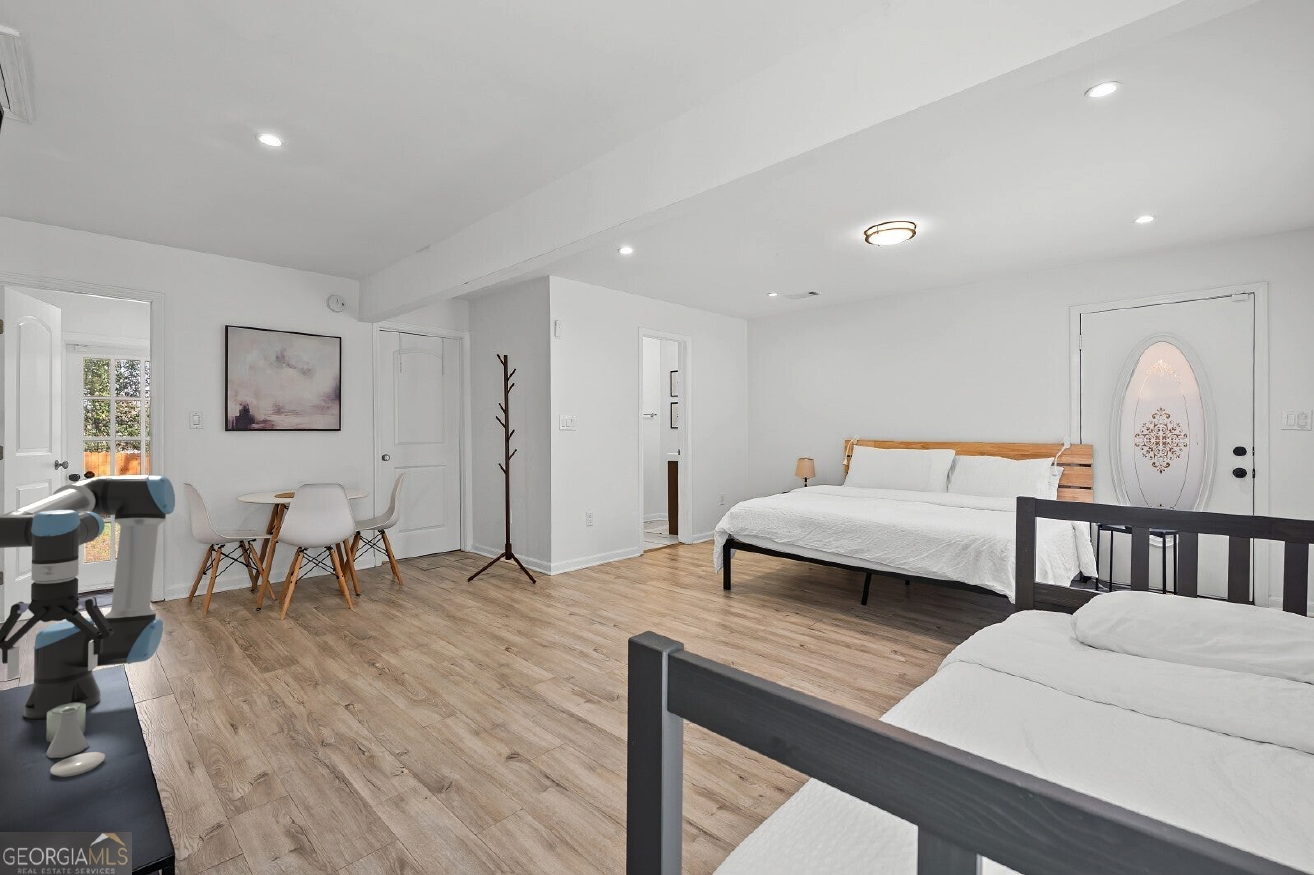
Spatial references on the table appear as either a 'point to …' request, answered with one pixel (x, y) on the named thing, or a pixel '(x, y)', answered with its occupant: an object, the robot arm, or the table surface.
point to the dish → (77, 764)
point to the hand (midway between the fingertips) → (53, 672)
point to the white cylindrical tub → (54, 717)
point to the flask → (67, 736)
